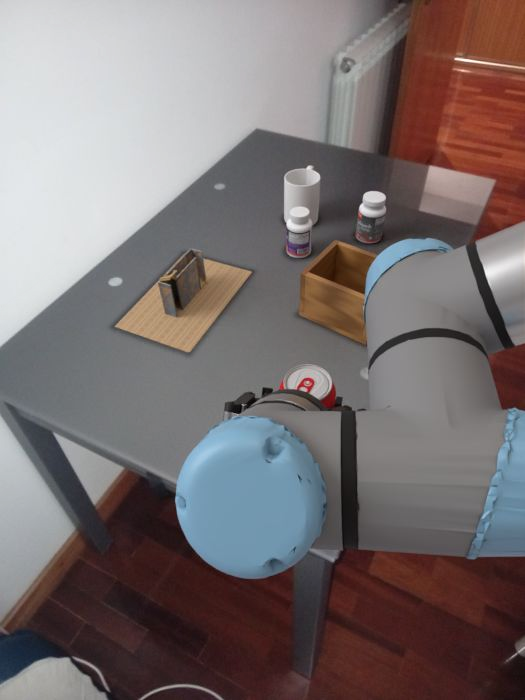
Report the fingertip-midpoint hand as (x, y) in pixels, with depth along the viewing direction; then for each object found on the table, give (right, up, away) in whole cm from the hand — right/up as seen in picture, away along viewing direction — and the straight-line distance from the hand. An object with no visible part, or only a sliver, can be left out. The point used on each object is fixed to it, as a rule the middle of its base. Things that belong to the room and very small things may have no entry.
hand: (310, 403), depth 61 cm
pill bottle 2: (+18, +31, +48) cm, 60 cm away
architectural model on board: (-21, +17, +36) cm, 45 cm away
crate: (+10, +14, +32) cm, 36 cm away
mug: (+4, +38, +55) cm, 68 cm away
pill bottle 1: (+2, +28, +45) cm, 53 cm away
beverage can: (-1, -5, 0) cm, 5 cm away
